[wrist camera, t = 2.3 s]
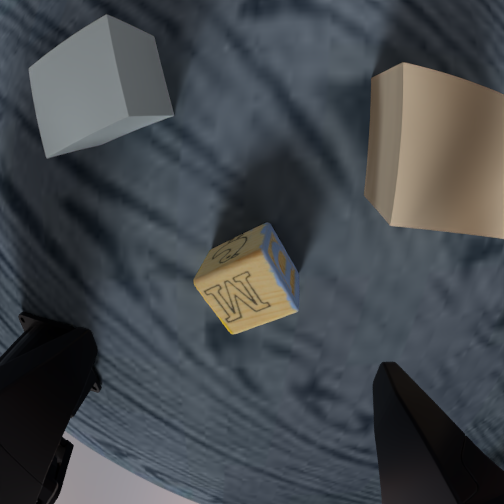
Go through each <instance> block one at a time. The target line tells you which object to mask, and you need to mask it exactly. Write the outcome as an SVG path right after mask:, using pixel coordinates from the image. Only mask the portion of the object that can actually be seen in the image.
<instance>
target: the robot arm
mask: <svg viewBox="0 0 504 504" xmlns="http://www.w3.org/2000/svg"><path fill="white" fill-rule="evenodd" d="M18 317H19V320H20V322H21V325H22V327H23V329H24V333H23V334H22V335H21V336H20V337H19V338H18V339H17V340H16V341H15V342H14V343H13V344H12V345H11V346H10V347H9V348H8V350H7V351H6V352H5V353H4V354H3V355H2V356H1V357H0V504H54V503H55V501H56V500H57V498H58V496H59V494H60V491H61V488H62V485H63V481H64V477H65V474H66V470H67V466H68V463H69V460H70V457H71V453H72V450H73V446H74V445H73V444H72V443H71V442H69V441H68V440H65V439H64V438H63V437H62V435H63V433H64V431H65V429H66V427H67V424H68V422H69V420H70V418H72V417H74V415H75V414H76V412H77V410H78V409H79V407H80V406H81V404H82V403H83V401H84V399H85V398H86V396H87V395H88V393H89V392H90V390H91V391H94V392H97V393H98V392H100V390H101V388H102V387H101V385H100V382H99V380H98V378H97V376H96V373H95V371H94V369H93V364H94V361H95V358H96V356H97V346H96V343H95V340H94V337H93V334H92V332H91V330H89V329H87V328H83V327H78V328H75V327H73V326H70V325H66V324H63V323H59V322H55V321H52V320H48V319H45V318H41V317H38V316H35V315H32V314H28V313H25V312H22V313H20V314H19V316H18ZM373 407H374V433H375V441H376V449H377V457H378V465H379V475H380V485H381V496H382V504H504V471H503V470H502V469H501V468H500V467H498V466H497V465H496V464H495V463H494V462H493V461H492V460H490V459H489V458H488V457H487V456H486V455H485V454H484V453H483V452H482V451H481V450H480V449H479V448H478V447H477V446H476V445H475V444H474V443H473V442H472V441H471V440H470V439H469V438H468V437H467V436H465V434H464V433H463V431H462V430H461V429H460V428H459V427H458V426H457V425H456V424H455V423H454V422H453V421H452V420H451V419H450V418H449V417H448V416H447V415H446V414H445V413H444V412H443V410H442V409H441V408H440V407H439V406H438V405H437V404H436V403H435V402H434V401H433V400H432V399H431V398H430V397H429V396H428V395H427V394H426V393H425V392H424V391H423V390H422V389H421V388H420V387H419V386H418V385H417V384H416V383H415V382H414V381H413V380H412V379H411V378H410V377H409V375H408V374H407V373H406V372H405V371H404V370H403V369H402V368H401V367H400V366H399V365H398V364H397V363H395V362H382V363H381V364H380V366H379V369H378V371H377V374H376V376H375V379H374V381H373Z"/></svg>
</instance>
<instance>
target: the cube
mask: <svg viewBox="0 0 504 504" xmlns="http://www.w3.org/2000/svg"><path fill="white" fill-rule="evenodd" d="M29 76H30V83H31V89H32V95H33V101H34V106H35V111H36V116H37V121H38V126H39V130H40V135H41V139H42V143H43V147H44V151H45V155H46V158H51V157H54V156H58V155H62V154H66V153H69V152H73V151H77V150H82V149H86V148H90V147H95V146H99V145H103V144H105V143H107V142H109V141H111V140H114V139H116V138H118V137H121V136H123V135H125V134H128V133H130V132H133V131H135V130H137V129H140V128H142V127H145V126H148V125H150V124H153V123H155V122H158V121H161V120H163V119H166V118H169V117H172V116H174V112H173V108H172V104H171V101H170V97H169V93H168V89H167V85H166V82H165V78H164V74H163V70H162V66H161V62H160V58H159V54H158V50H157V46H156V41H155V37H154V36H152V35H150V34H148V33H146V32H144V31H142V30H140V29H138V28H136V27H134V26H132V25H130V24H128V23H125V22H123V21H121V20H119V19H116V18H114V17H112V16H109V15H107V14H106V15H105V16H103V17H101V18H99V19H98V20H96V21H94V22H93V23H91V24H89V25H88V26H86V27H85V28H83V29H82V30H80V31H78V32H77V33H75V34H74V35H72V36H71V37H69V38H68V39H67V40H65V41H64V42H62V43H61V44H59V45H58V46H57V47H55V48H54V49H53V50H51V51H50V52H49V53H47V54H46V55H45V56H43V57H42V58H41V59H40V60H38V61H37V62H36V63H35V64H33V65H32V66H31V67H30V68H29Z"/></svg>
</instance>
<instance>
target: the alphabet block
mask: <svg viewBox="0 0 504 504" xmlns="http://www.w3.org/2000/svg"><path fill="white" fill-rule="evenodd" d="M194 285H195V287H196V288H197V290H198V291H199V292H200V294H201V295H202V296H203V298H204V299H205V301H206V302H207V303H208V304H209V306H210V307H211V308H212V310H213V311H214V312H215V313H216V315H217V317H218V318H219V319H220V320H221V321H222V323H223V324H224V326H225V327H226V328H227V330H228V331H229V332H230V333H231V334H237V333H240V332H243V331H245V330H248V329H251V328H254V327H256V326H259V325H262V324H265V323H268V322H271V321H274V320H276V319H279V318H282V317H285V316H287V315H290V314H293V313H296V312H298V310H299V292H300V291H299V274H298V271H297V269H296V267H295V265H294V264H293V262H292V261H291V259H290V257H289V255H288V254H287V252H286V250H285V248H284V246H283V245H282V243H281V241H280V240H279V238H278V236H277V234H276V232H275V231H274V229H273V227H272V225H271V224H270V223H269V222H266V223H264V224H262V225H260V226H258V227H256V228H254V229H252V230H250V231H248V232H245V233H243V234H241V235H239V236H237V237H235V238H233V239H231V240H229V241H227V242H225V243H223V244H221V245H219V246H217V247H215V248H213V249H211V250H210V251H209V253H208V255H207V257H206V258H205V260H204V262H203V264H202V265H201V267H200V269H199V270H198V272H197V274H196V276H195V278H194Z"/></svg>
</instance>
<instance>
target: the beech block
mask: <svg viewBox="0 0 504 504" xmlns="http://www.w3.org/2000/svg"><path fill="white" fill-rule="evenodd" d="M364 196H365V197H366V198H367V199H368V200H369V202H370V203H371V204H372V205H373V206H374V207H375V208H376V210H377V211H378V212H379V213H380V214H381V215H382V217H383V218H384V219H385V220H386V221H387V223H388V224H389V225H390V226H398V227H408V228H418V229H427V230H437V231H446V232H454V233H463V234H471V235H479V236H487V237H494V238H502V239H504V94H501V93H499V92H497V91H494V90H492V89H489V88H487V87H484V86H481V85H479V84H476V83H473V82H471V81H468V80H465V79H462V78H459V77H456V76H453V75H449V74H446V73H443V72H439V71H436V70H432V69H429V68H425V67H421V66H417V65H413V64H409V63H404V62H403V63H400V64H398V65H396V66H394V67H392V68H390V69H388V70H386V71H384V72H382V73H380V74H378V75H376V76H374V77H372V78H371V109H370V130H369V145H368V158H367V170H366V180H365V189H364Z"/></svg>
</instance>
